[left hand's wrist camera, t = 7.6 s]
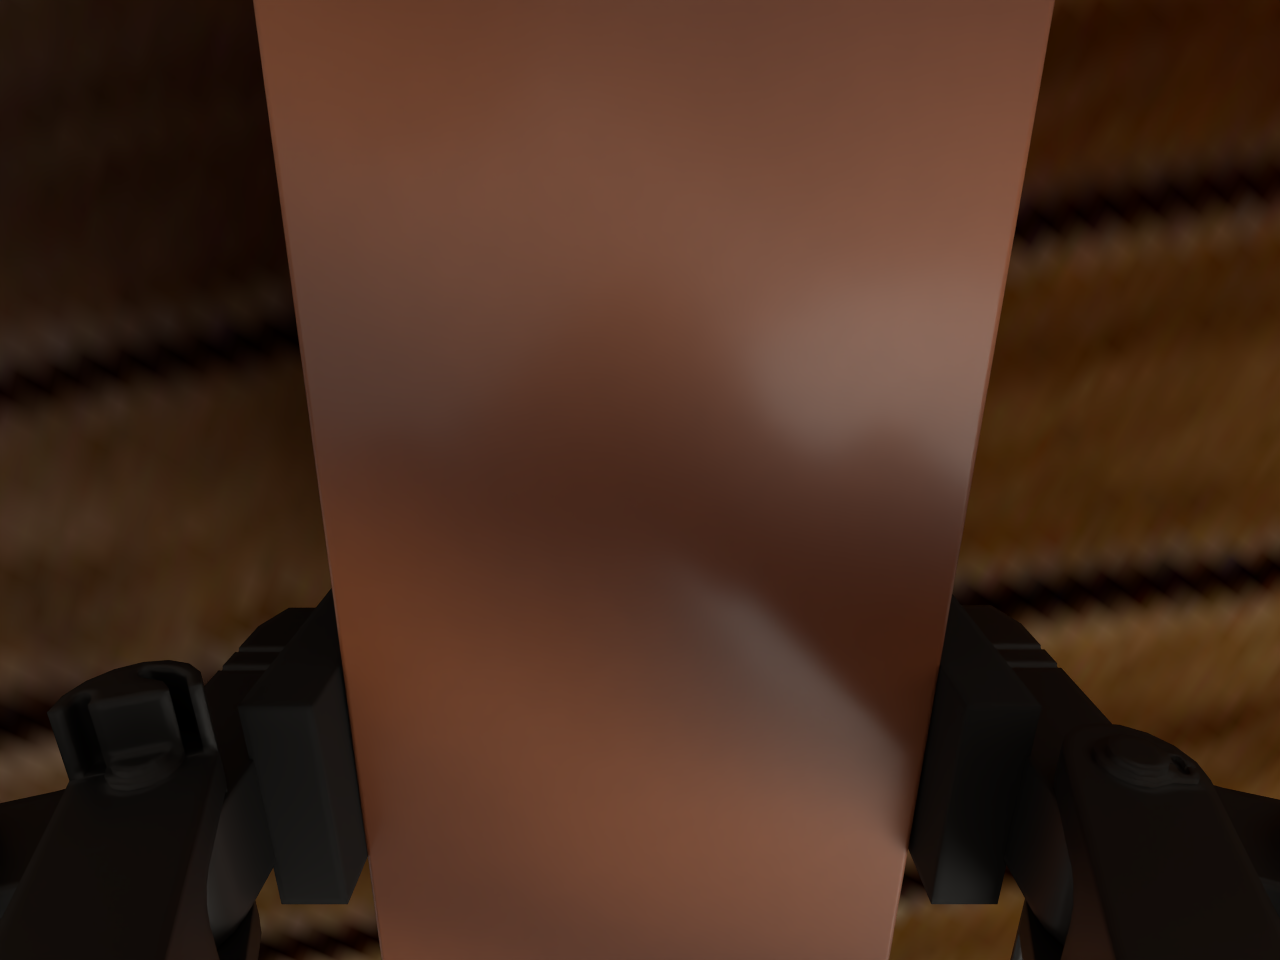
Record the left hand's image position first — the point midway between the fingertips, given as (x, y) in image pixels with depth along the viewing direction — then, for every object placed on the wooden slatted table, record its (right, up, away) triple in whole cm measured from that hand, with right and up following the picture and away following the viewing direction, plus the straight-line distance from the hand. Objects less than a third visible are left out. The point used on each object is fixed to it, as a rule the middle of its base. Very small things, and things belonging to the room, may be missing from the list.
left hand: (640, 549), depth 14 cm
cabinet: (0, +4, +2) cm, 5 cm away
